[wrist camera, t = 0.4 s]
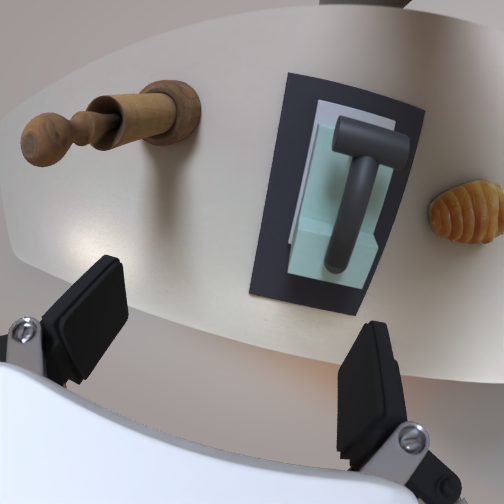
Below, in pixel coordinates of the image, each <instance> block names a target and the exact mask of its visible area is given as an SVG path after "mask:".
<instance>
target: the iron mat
mask: <svg viewBox="0 0 504 504" xmlns="http://www.w3.org/2000/svg"><path fill="white" fill-rule="evenodd" d="M318 100H322V101H327V102H331V103H335V104H339V105H343V106H347V107H350V108H354V109H358V110H361V111H365V112H368V113H372V114H375V115H378V116H381V117H384V118H388V119H391V120H394V121H396V123H395V127H394V131H396V132H399V133H402V134H405V135H407V136H408V137H409V140H410V150H409V155H408V158H407V161H406V163H405V165H404V167H403V168H402V169H401V170H396V169H393V173H392V176H391V180H390V183H389V186H388V190H387V193H386V196H385V199H384V203H383V206H382V209H381V212H380V215H379V218H378V221H377V224H376V227H375V230H374V233H373V235H374V238H375V240H376V243H377V245H378V250H377V253H376V256H375V258H374V261H373V263H372V266H371V268H370V271H369V273H368V276H367V278H366V281H365V283H364V285H363V288H362V289H359V288H354V287H350V286H345V285H340V284H336V283H331V282H327V281H322V280H317V279H313V278H308V277H304V276H299V275H295V274H290V273H287V271H288V264H289V257H290V251H291V244H289V243H288V240H289V236H290V231H291V227H292V223H293V218H294V214H295V209H296V205H297V200H298V196H299V191H300V187H301V182H302V177H303V173H304V168H305V163H306V159H307V154H308V149H309V144H310V139H311V134H312V129H313V124H314V119H315V114H316V109H317V104H318ZM424 114H425V111H424V110H422V109H419V108H416V107H414V106H411V105H408V104H406V103H403V102H400V101H397V100H394V99H391V98H388V97H385V96H382V95H379V94H376V93H373V92H369V91H366V90H362V89H359V88H355V87H352V86H348V85H344V84H340V83H336V82H332V81H328V80H323V79H319V78H314V77H309V76H304V75H299V74H294V73H288V77H287V83H286V88H285V94H284V100H283V106H282V111H281V117H280V123H279V128H278V134H277V140H276V145H275V151H274V156H273V162H272V168H271V173H270V179H269V184H268V190H267V196H266V201H265V207H264V212H263V218H262V223H261V229H260V234H259V240H258V245H257V251H256V257H255V262H254V268H253V273H252V278H251V284H250V289H249V293H250V294H254V295H259V296H263V297H267V298H272V299H276V300H281V301H285V302H290V303H295V304H299V305H304V306H309V307H313V308H318V309H323V310H328V311H333V312H338V313H343V314H348V315H353V316H356V314H357V312H358V309H359V307H360V305H361V303H362V301H363V298H364V296H365V294H366V291H367V289H368V287H369V285H370V282H371V280H372V277H373V275H374V273H375V270H376V268H377V265H378V263H379V260H380V258H381V255H382V253H383V250H384V247H385V245H386V242H387V239H388V237H389V234H390V231H391V228H392V226H393V223H394V220H395V217H396V214H397V211H398V208H399V205H400V202H401V199H402V196H403V193H404V190H405V186H406V183H407V180H408V177H409V173H410V170H411V166H412V163H413V159H414V155H415V152H416V148H417V144H418V140H419V136H420V132H421V128H422V123H423V119H424Z"/></svg>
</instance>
